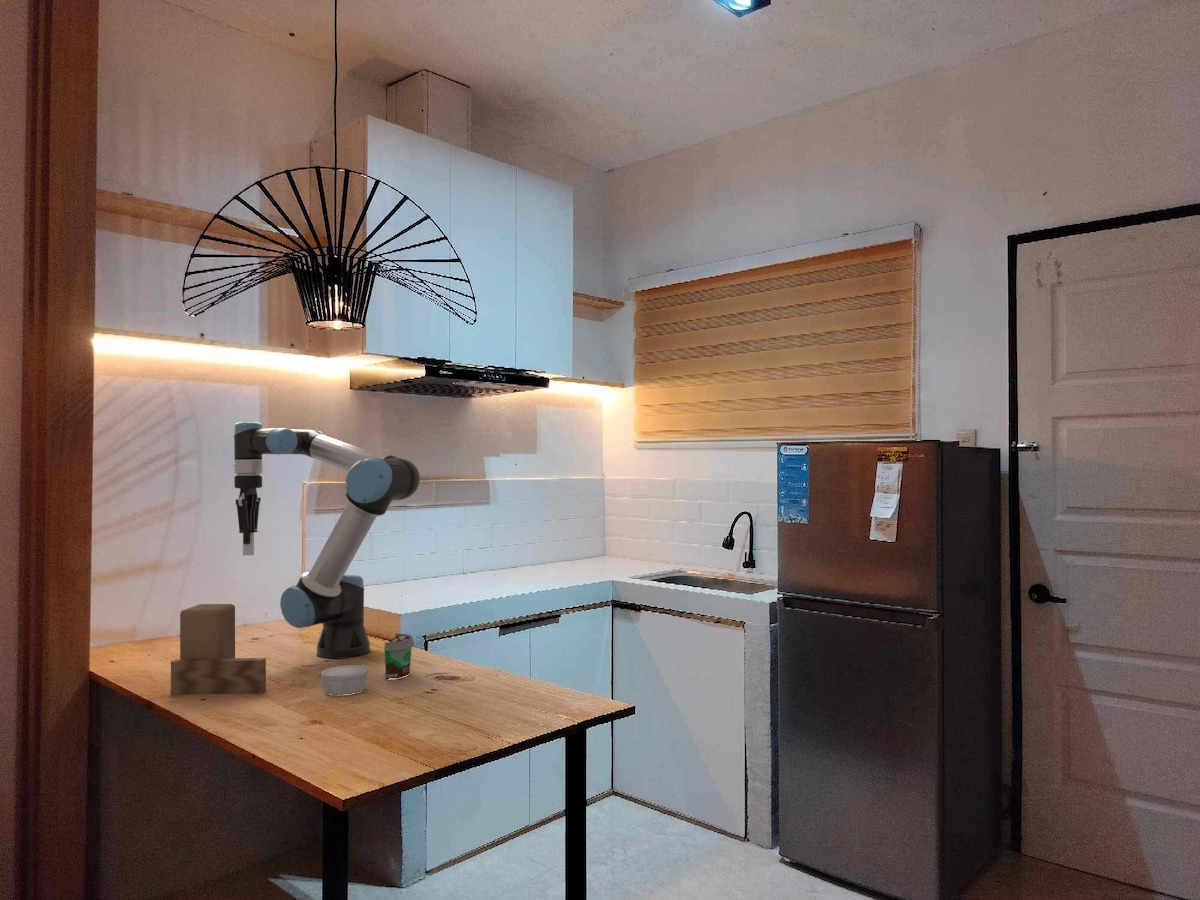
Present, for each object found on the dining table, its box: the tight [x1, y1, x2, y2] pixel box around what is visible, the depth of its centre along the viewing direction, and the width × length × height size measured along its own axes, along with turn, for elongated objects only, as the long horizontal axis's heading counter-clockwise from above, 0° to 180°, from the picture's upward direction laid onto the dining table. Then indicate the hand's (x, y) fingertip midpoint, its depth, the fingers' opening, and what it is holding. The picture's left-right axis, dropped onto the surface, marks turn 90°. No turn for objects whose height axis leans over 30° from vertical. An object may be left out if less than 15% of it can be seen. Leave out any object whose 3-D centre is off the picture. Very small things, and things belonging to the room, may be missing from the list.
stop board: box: [170, 657, 267, 695], centre depth 203 cm, size 22×2×8 cm, turn 92°
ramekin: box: [320, 664, 370, 695], centre depth 203 cm, size 11×11×5 cm
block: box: [179, 603, 236, 659], centre depth 209 cm, size 10×10×20 cm
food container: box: [383, 633, 415, 680], centre depth 218 cm, size 12×6×10 cm, turn 0°
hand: (248, 555), depth 242 cm, fingers closed
